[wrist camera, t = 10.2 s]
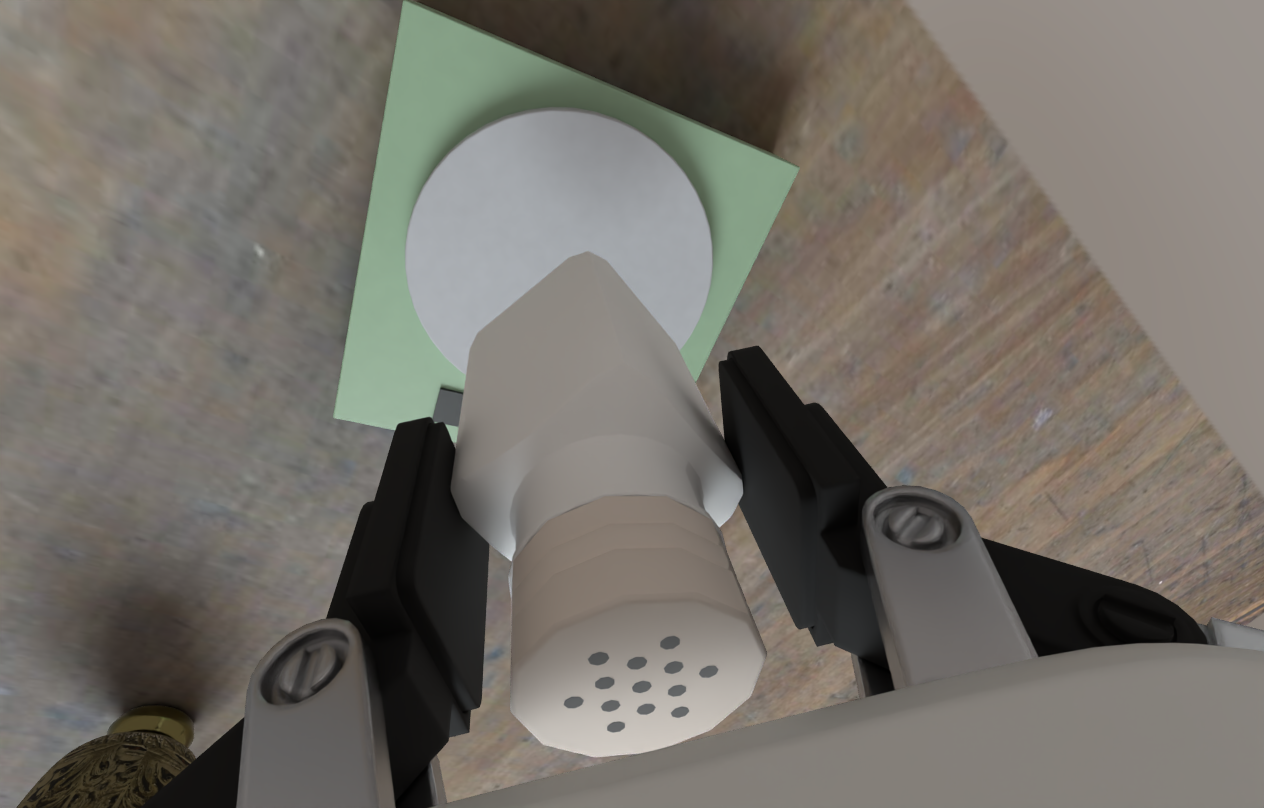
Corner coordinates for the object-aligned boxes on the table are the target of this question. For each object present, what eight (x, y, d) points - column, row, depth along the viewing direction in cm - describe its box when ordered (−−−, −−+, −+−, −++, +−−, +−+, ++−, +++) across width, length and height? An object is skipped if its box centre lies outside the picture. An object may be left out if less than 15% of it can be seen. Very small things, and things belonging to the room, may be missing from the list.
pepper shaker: (460, 337, 15) (395, 704, 7) (587, 232, 14) (683, 510, 6) (567, 435, 17) (614, 806, 9) (683, 348, 16) (851, 672, 8)
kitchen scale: (416, 1, 17) (399, -3, 15) (773, 153, 21) (808, 171, 18) (348, 383, 23) (328, 427, 20) (637, 448, 27) (650, 491, 24)
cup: (249, 684, 31) (175, 867, 24) (232, 764, 34) (162, 945, 27) (71, 667, 28) (-67, 866, 22) (71, 754, 31) (-50, 952, 25)
